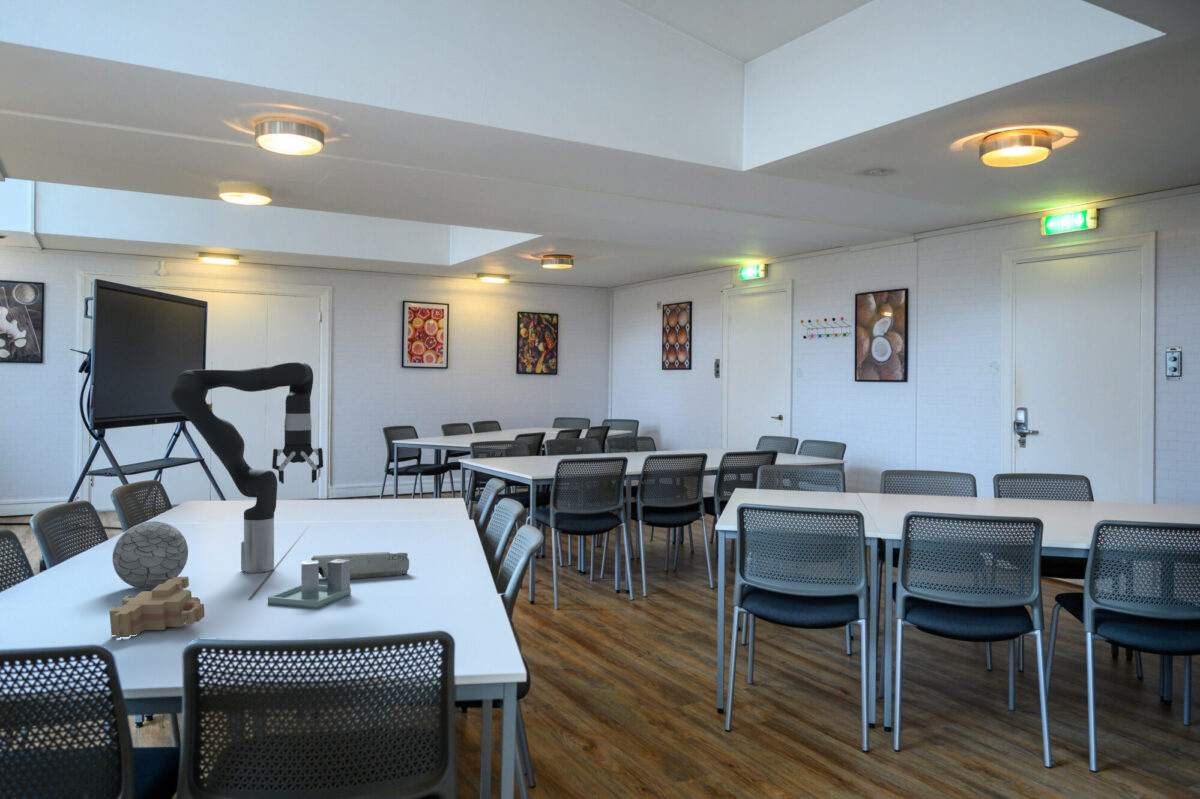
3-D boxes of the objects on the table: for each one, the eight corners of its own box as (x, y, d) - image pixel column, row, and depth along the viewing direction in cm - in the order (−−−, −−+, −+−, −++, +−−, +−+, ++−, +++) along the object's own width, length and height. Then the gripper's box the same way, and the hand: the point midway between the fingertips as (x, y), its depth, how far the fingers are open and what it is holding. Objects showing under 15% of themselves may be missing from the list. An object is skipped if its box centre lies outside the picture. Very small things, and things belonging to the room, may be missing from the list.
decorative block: (408, 576, 257) (408, 553, 257) (309, 584, 246) (309, 559, 246) (405, 571, 264) (405, 548, 264) (308, 578, 254) (308, 554, 253)
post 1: (301, 599, 225) (301, 564, 225) (301, 595, 230) (301, 561, 229) (318, 598, 227) (318, 563, 227) (317, 594, 231) (318, 560, 231)
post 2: (327, 596, 231) (327, 562, 231) (336, 592, 235) (336, 559, 235) (341, 597, 230) (341, 563, 230) (349, 594, 234) (350, 560, 234)
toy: (143, 576, 209) (99, 609, 189) (219, 576, 210) (183, 608, 190) (146, 611, 210) (102, 647, 191) (222, 611, 211) (186, 647, 191)
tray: (267, 604, 223) (267, 597, 223) (303, 590, 238) (303, 583, 238) (317, 608, 219) (317, 601, 218) (350, 594, 234) (350, 587, 234)
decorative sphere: (96, 592, 234) (96, 524, 233) (155, 577, 252) (155, 514, 252) (146, 599, 227) (146, 529, 226) (203, 583, 245) (203, 518, 245)
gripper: (272, 429, 232) (271, 485, 232) (323, 429, 237) (323, 483, 237) (272, 428, 239) (272, 482, 239) (322, 427, 244) (322, 480, 244)
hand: (297, 482), depth 238 cm, fingers open, 8 cm apart
